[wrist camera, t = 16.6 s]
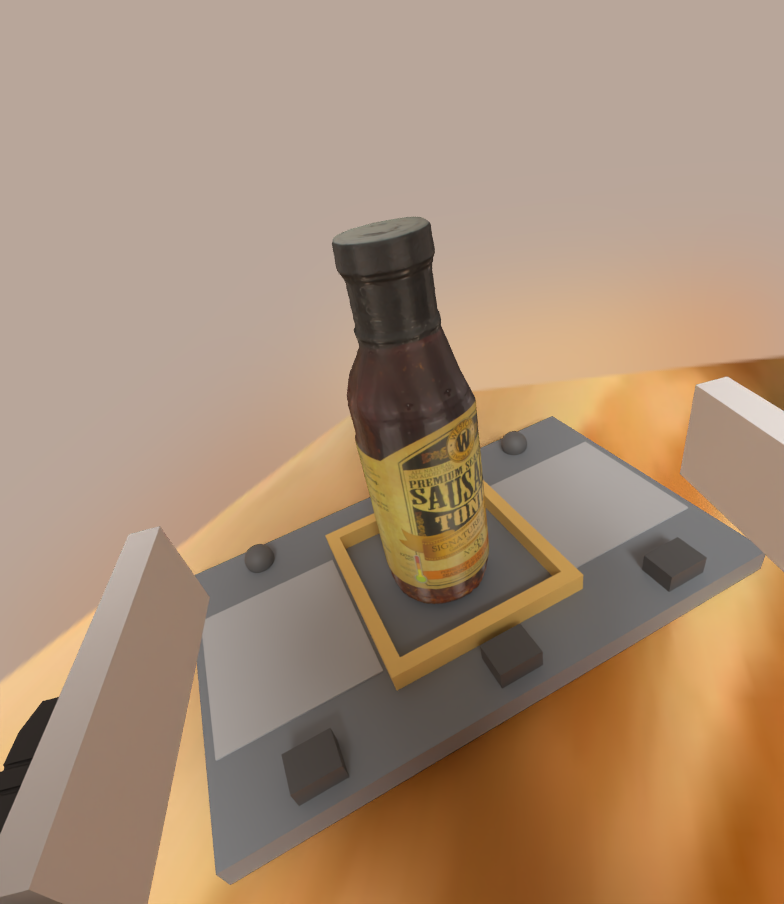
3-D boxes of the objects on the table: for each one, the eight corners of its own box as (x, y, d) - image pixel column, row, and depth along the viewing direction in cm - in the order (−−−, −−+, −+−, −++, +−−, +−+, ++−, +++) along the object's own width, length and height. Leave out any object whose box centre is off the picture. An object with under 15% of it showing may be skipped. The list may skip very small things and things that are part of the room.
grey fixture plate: (552, 430, 42) (552, 402, 40) (760, 568, 27) (773, 532, 26) (198, 591, 35) (180, 564, 33) (230, 884, 21) (201, 864, 19)
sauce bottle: (447, 630, 27) (361, 262, 15) (372, 576, 31) (261, 255, 19) (515, 555, 30) (487, 204, 18) (439, 515, 34) (378, 209, 23)
